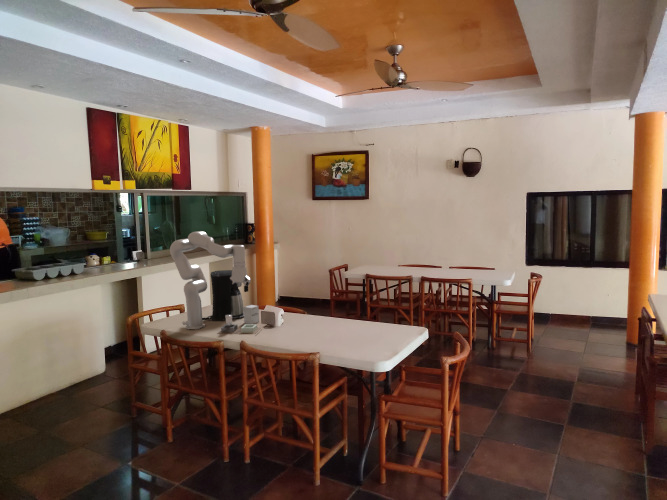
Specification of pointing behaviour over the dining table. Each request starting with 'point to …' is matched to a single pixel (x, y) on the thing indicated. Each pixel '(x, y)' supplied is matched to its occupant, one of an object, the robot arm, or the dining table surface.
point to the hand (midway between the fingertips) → (240, 290)
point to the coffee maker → (225, 297)
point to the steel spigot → (229, 321)
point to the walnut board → (234, 330)
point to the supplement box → (251, 314)
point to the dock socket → (249, 328)
